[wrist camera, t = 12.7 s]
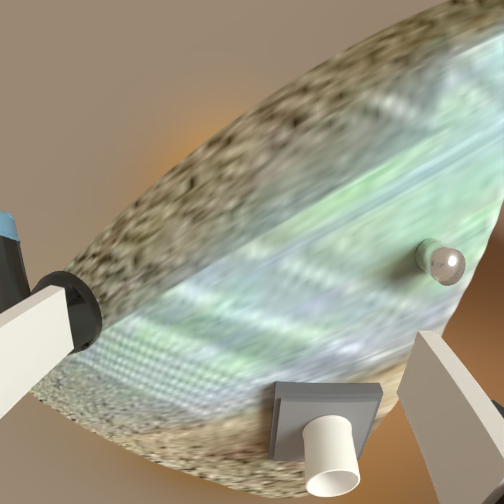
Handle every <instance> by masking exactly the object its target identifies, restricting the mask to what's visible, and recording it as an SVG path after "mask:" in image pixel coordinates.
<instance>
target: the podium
mask: <svg viewBox="0 0 504 504" xmlns="http://www.w3.org/2000/svg"><path fill="white" fill-rule="evenodd" d="M382 396H383V391H382V388H381V386H380V383H296V382H276V386H275V396H274V406H273V416H272V426H271V435H270V444H269V455H268V459H269V460H273V461H298V462H305V448H304V439H303V430H304V428H305V426H306V425H307V424H308V423H309V422H310V421H312V420H314V419H316V418H318V417H321V416H326V415H337V416H341V417H344V418H346V419H347V420H348V421H349V422H350V423H351V426H352V438H353V443H354V448H355V453H356V459H357V460H358V459H360V456H361V454H362V451H363V449H364V446H365V444H366V441H367V438H368V436H369V433H370V430H371V428H372V425H373V422H374V419H375V417H376V414H377V411H378V408H379V405H380V402H381V399H382Z"/></svg>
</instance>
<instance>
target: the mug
mask: <svg viewBox="0 0 504 504" xmlns="http://www.w3.org/2000/svg"><path fill="white" fill-rule="evenodd" d="M303 439H304V448H305V483H306V490H307V491H308V492H309V493H311V494H313V495H315V496H320V497H332V496H338V495H342V494H345V493H347V492H349V491H351V490H352V489H354V488H355V487H356V486H357V485H358V484H359V482H360V475H359V469H358V464H357V459H356V453H355V448H354V443H353V438H352V426H351V423H350V422H349V421H348V420H347V419H346V418H344V417H341V416H337V415H326V416H321V417H318V418H316V419H314V420H312V421H310V422H309V423H308V424H307V425H306V426H305V428H304V430H303Z"/></svg>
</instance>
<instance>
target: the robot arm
mask: <svg viewBox="0 0 504 504" xmlns="http://www.w3.org/2000/svg"><path fill="white" fill-rule="evenodd" d="M101 328H102V317H101V312H100V308H99V305H98V303H97V301H96V299H95V297H94V295H93V293H92V292H91V290H90V289H89V288H88V287H87V285H86V284H85V283H84V282H83V281H82V280H80V279H79V278H78V277H76V276H75V275H73V274H71V273H68V272H65V271H55V272H52V273H50V274H48V275H46V276H45V277H43V278H42V279H41V280H40V281H39V282H38V284H37V285H36V286H35V288H34V289H33V290H32V291H31V292H30V288H29V285H28V280H27V276H26V272H25V267H24V263H23V258H22V254H21V248H20V239H19V238H18V235H17V230H16V225H15V220H14V218H13V216H12V215H11V214H10V213H8V212H6V211H0V419H1V418H2V416H4V415H5V414H6V413H7V412H8V411H9V410H10V409H11V408H12V407H13V406H14V405H15V404H16V403H17V402H18V401H19V400H20V399H21V398H22V397H23V396H24V395H25V394H26V393H27V392H28V391H29V390H30V389H32V388H33V387H34V385H35V384H36V383H38V382H39V381H40V380H41V379H42V378H43V377H44V376H45V375H46V374H47V373H48V372H49V371H50V370H51V369H52V368H53V367H55V366H56V365H57V364H58V363H59V362H60V361H61V360H62V359H63V358H64V357H65V356H67V355H70V354H73V353H77V352H80V351H83V350H85V349H87V348H89V347H90V346H91V345H92V344H93V343H94V342H95V341H96V340H97V339H98V337H99V335H100V333H101ZM397 395H398V397H399V399H400V401H401V404H402V406H403V408H404V411H405V413H406V416H407V418H408V421H409V423H410V425H411V428H412V430H413V433H414V435H415V437H416V440H417V443H418V445H419V448H420V450H421V453H422V455H423V458H424V461H425V463H426V466H427V469H428V471H429V474H430V477H431V480H432V482H433V485H434V488H435V491H436V494H437V497H438V500H439V502H440V504H504V408H503V407H502V406H501V405H499V404H498V403H497V402H495V401H494V400H490V399H489V398H488V397H487V395H486V394H485V392H484V391H483V390H482V389H481V387H480V386H479V384H478V383H477V382H476V380H475V379H474V378H473V377H472V375H471V374H470V373H469V371H468V370H467V369H466V368H465V366H464V365H463V364H462V363H461V361H460V360H459V359H458V357H457V356H456V355H455V354H454V353H453V351H452V350H451V349H450V348H449V346H448V345H447V344H446V343H445V342H444V340H443V339H442V338H441V337H440V336H439V334H438V333H437V332H436V331H418V332H417V335H416V339H415V342H414V345H413V348H412V351H411V354H410V357H409V360H408V363H407V366H406V369H405V372H404V374H403V377H402V380H401V382H400V385H399V388H398V390H397Z"/></svg>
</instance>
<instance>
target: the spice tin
mask: <svg viewBox="0 0 504 504" xmlns="http://www.w3.org/2000/svg"><path fill="white" fill-rule="evenodd" d="M416 262H417V264H418V266H419V267H420V268H421V269H423V270H424V271H425V272H426V273H428V274H429V275H430V276H432V277H433V278H434V279H435V280H437V281H438V282H439V283H441V284H442V285H445V286H450V285H453V284H455V283H456V282H458V281H459V280H460V278H461V277H462V275H463V273H464V270H465V259H464V256H463V254H462V253H461V252H460V251H458V250H456V249H454V248H452V247H451V246H449V245H447V244H445V243H443V242H441V241H439V240H437V239H434V238H428V239H425V240H424V241H422V242H421V243H420V245H419V246H418V248H417V250H416Z"/></svg>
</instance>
